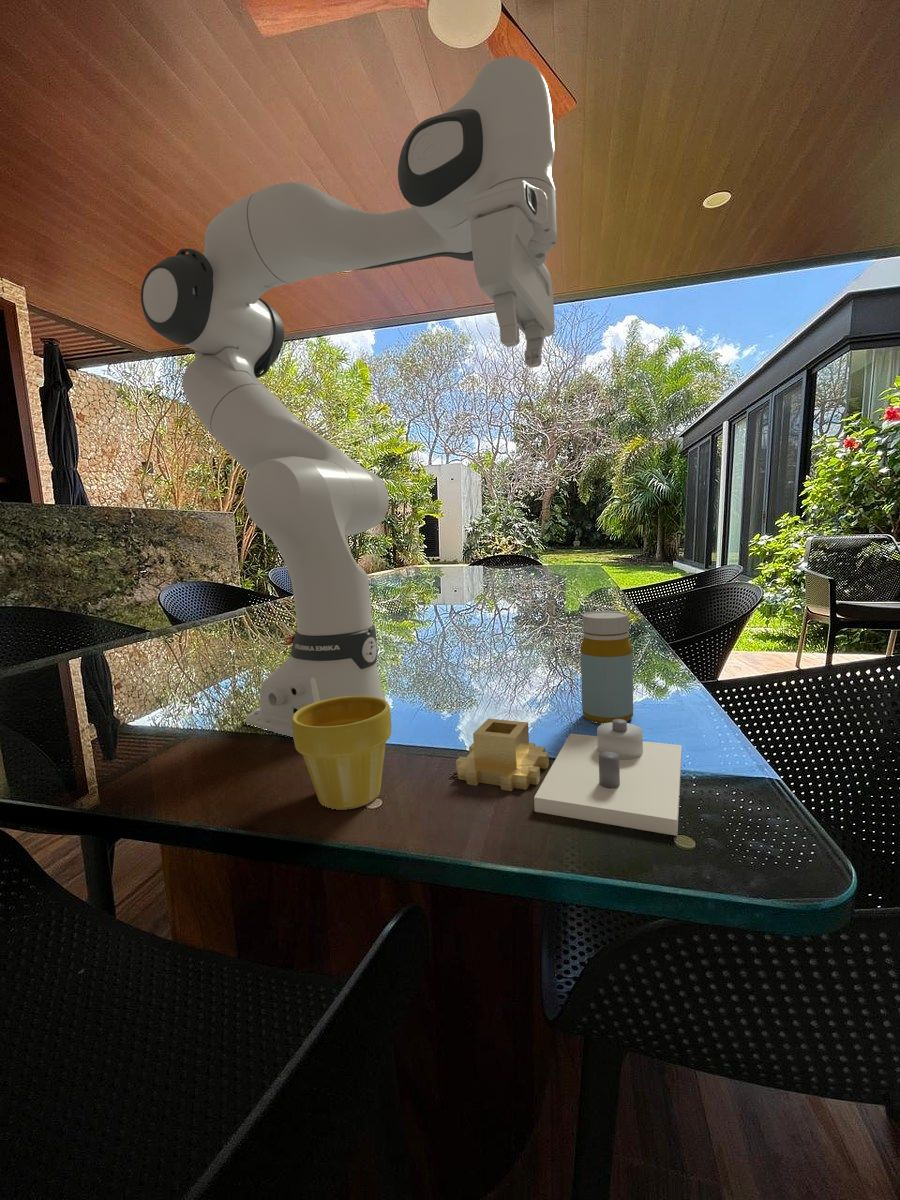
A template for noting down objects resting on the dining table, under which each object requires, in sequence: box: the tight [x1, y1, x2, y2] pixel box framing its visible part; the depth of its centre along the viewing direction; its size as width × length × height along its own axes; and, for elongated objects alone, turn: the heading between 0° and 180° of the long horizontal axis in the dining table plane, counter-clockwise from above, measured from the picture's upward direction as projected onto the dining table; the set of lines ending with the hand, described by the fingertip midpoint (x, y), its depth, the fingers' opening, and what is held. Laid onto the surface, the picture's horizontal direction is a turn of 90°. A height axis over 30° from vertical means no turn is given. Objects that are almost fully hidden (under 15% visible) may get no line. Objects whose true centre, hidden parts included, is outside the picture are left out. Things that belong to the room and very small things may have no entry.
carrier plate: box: [533, 719, 683, 837], centre depth 58 cm, size 13×17×5 cm
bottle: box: [580, 610, 634, 724], centre depth 76 cm, size 7×7×15 cm
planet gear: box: [455, 718, 550, 792], centre depth 62 cm, size 10×10×5 cm
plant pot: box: [292, 696, 392, 811], centre depth 58 cm, size 10×10×10 cm
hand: (522, 356), depth 64 cm, fingers open, 8 cm apart
